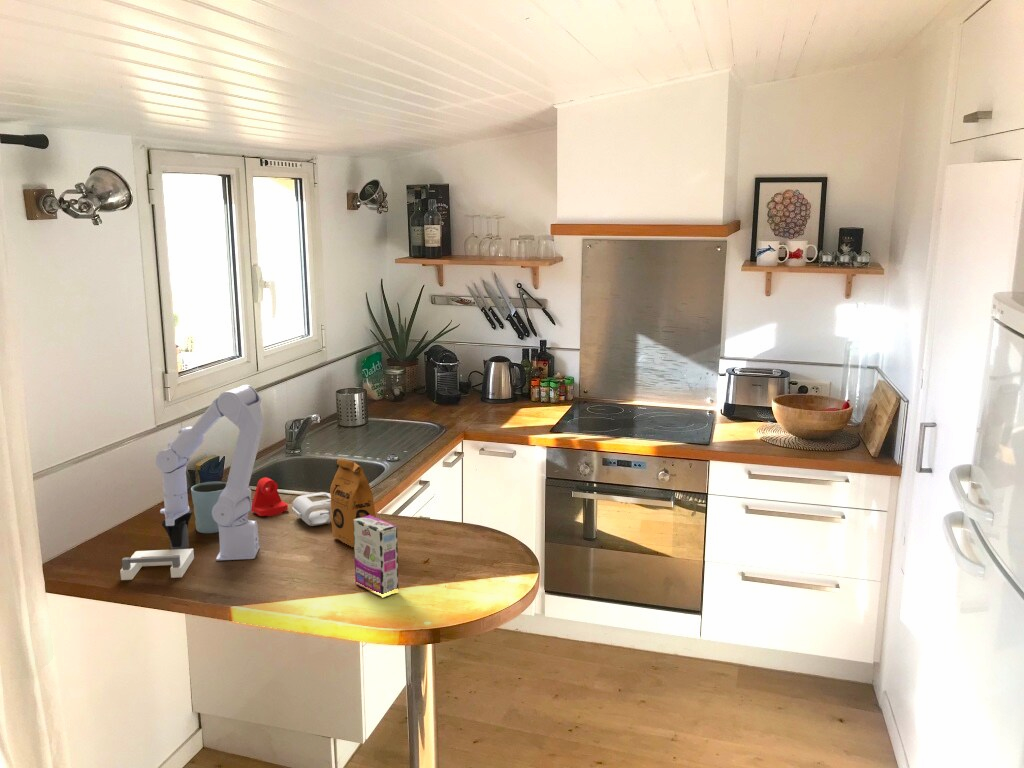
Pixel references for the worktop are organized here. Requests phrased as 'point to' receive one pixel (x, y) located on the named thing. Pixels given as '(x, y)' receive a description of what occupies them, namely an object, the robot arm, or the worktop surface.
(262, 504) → the bracket
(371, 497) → the coffee package
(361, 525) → the candy bar box
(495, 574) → the worktop surface
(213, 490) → the pale teal cup
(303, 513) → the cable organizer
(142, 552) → the white frame with crossbar
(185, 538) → the grey rounded cylinder
